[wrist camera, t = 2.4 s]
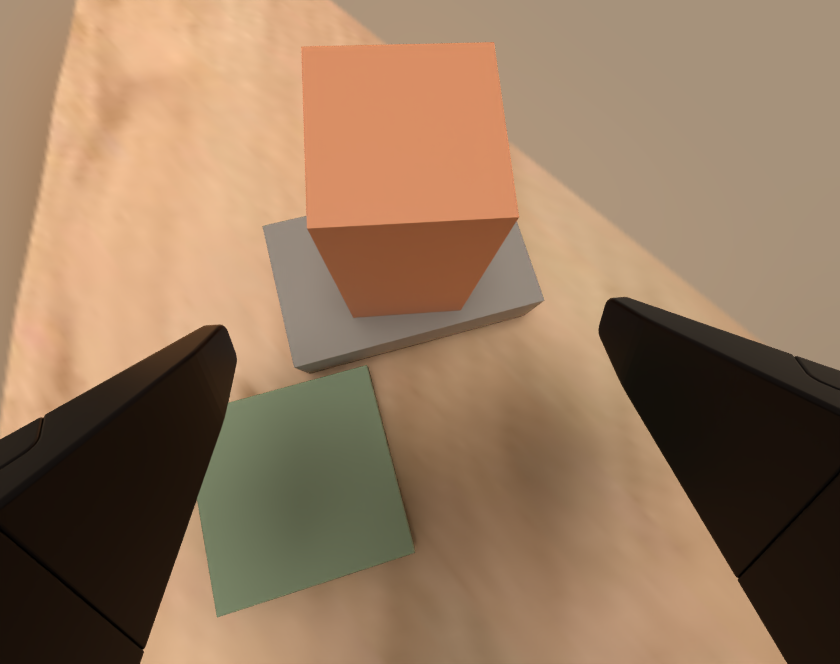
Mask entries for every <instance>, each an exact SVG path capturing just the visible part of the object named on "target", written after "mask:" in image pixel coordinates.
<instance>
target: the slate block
mask: <svg viewBox="0 0 840 664" xmlns="http://www.w3.org/2000/svg"><path fill="white" fill-rule="evenodd" d="M263 230H264V235H265V239H266V244H267V248H268V253H269V257H270V262H271V266H272V271H273V275H274V280H275V284H276V289H277V293H278V298H279V302H280V306H281V311H282V315H283V320H284V324H285V329H286V333H287V338H288V342H289V347H290V351H291V356H292V360H293V365H294V368H297V369H299V370H302V371H305V372H307V373H313V372H317V371H320V370H324V369H328V368H331V367H335V366H339V365H342V364H346V363H350V362H353V361H357V360H361V359H365V358H368V357H372V356H376V355H379V354H383V353H387V352H390V351H394V350H398V349H401V348H405V347H409V346H412V345H416V344H420V343H424V342H427V341H431V340H435V339H438V338H442V337H446V336H449V335H453V334H457V333H460V332H464V331H468V330H472V329H475V328H479V327H483V326H486V325H490V324H494V323H497V322H501V321H505V320H508V319H512V318H516V317H519V316H523V315H525V314H527V313H528V312H529V311H531V310H532V309H533V308H535V307H536V306H537V305H539V304H540V303H542V302H543V301H544V298H543V295H542V292H541V289H540V286H539V283H538V280H537V278H536V275H535V272H534V269H533V266H532V263H531V260H530V258H529V255H528V252H527V249H526V246H525V243H524V241H523V238H522V235H521V232H520V229H519V226H518V223H517V221H516V223H515V224H514V226H513V227H512V229H511V231H510V232H509V234H508V236H507V237H506V239H505V240H504V242H503V244H502V245H501V247H500V248H499V250H498V252H497V253H496V255H495V256H494V258H493V260H492V261H491V263H490V264H489V266H488V268H487V269H486V271H485V272H484V274H483V276H482V277H481V279H480V280H479V282H478V284H477V285H476V287H475V288H474V290H473V292H472V293H471V295H470V296H469V298H468V300H467V301H466V303H465V304H464V306H463V308H462V309H461V310H459V311H444V312H430V313H415V314H401V315H387V316H372V317H358V318H353V316H352V314H351V312H350V310H349V308H348V307H347V305H346V303H345V301H344V299H343V297H342V295H341V293H340V291H339V289H338V287H337V285H336V283H335V282H334V280H333V278H332V276H331V274H330V272H329V270H328V268H327V266H326V264H325V262H324V260H323V258H322V257H321V255H320V253H319V251H318V249H317V247H316V245H315V243H314V241H313V239H312V237H311V235H310V233H309V232H308V230H307V216H304V217H300V218H295V219H291V220H287V221H282V222H278V223H273V224H269V225H265V226H263Z"/></svg>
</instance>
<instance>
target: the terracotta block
mask: <svg viewBox="0 0 840 664" xmlns="http://www.w3.org/2000/svg"><path fill="white" fill-rule="evenodd" d="M301 48H302V81H303V114H304V147H305V180H306V214H307V230H308V232H309V233H310V235H311V237H312V239H313V241H314V243H315V245H316V247H317V249H318V251H319V253H320V255H321V257H322V258H323V260H324V262H325V264H326V266H327V268H328V270H329V272H330V274H331V276H332V278H333V280H334V282H335V283H336V285H337V287H338V289H339V291H340V293H341V295H342V297H343V299H344V301H345V303H346V305H347V307H348V308H349V310H350V312H351V314H352V316H353V318H358V317H372V316H387V315H401V314H415V313H430V312H444V311H459V310H461V309H462V308H463V306H464V304H465V303H466V301H467V300H468V298H469V296H470V295H471V293H472V292H473V290H474V288H475V287H476V285H477V284H478V282H479V280H480V279H481V277H482V276H483V274H484V272H485V271H486V269H487V268H488V266H489V264H490V263H491V261H492V260H493V258H494V256H495V255H496V253H497V252H498V250H499V248H500V247H501V245H502V244H503V242H504V240H505V239H506V237H507V236H508V234H509V232H510V231H511V229H512V227H513V226H514V224H515V223H516V221H517V219H518V218H519V214H518V207H517V200H516V193H515V186H514V179H513V172H512V165H511V158H510V151H509V144H508V137H507V130H506V124H505V116H504V109H503V102H502V96H501V88H500V81H499V74H498V67H497V60H496V54H495V47H494V42H485V43H444V44H443V43H442V44H402V45H401V44H397V45H354V46H310V47H301Z"/></svg>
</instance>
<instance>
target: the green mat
mask: <svg viewBox="0 0 840 664" xmlns="http://www.w3.org/2000/svg"><path fill="white" fill-rule="evenodd" d="M197 502H198V508H199V514H200V520H201V525H202V531H203V537H204V543H205V549H206V555H207V561H208V567H209V573H210V579H211V585H212V591H213V597H214V603H215V609H216V615H217V617H220V616H223V615H226V614H229V613H232V612H236V611H239V610H242V609H245V608H248V607H251V606H254V605H257V604H260V603H263V602H266V601H269V600H272V599H275V598H278V597H281V596H284V595H287V594H291V593H294V592H297V591H300V590H303V589H306V588H309V587H312V586H315V585H318V584H321V583H324V582H327V581H330V580H333V579H336V578H339V577H342V576H345V575H349V574H352V573H355V572H358V571H361V570H364V569H367V568H370V567H373V566H376V565H379V564H382V563H385V562H388V561H391V560H394V559H397V558H400V557H404V556H407V555H410V554H413V553H415V550H414V543H413V539H412V535H411V531H410V528H409V524H408V520H407V516H406V512H405V508H404V504H403V500H402V497H401V493H400V489H399V485H398V481H397V477H396V473H395V470H394V466H393V462H392V458H391V454H390V450H389V446H388V442H387V439H386V435H385V431H384V427H383V423H382V419H381V415H380V411H379V408H378V404H377V400H376V396H375V392H374V388H373V384H372V380H371V377H370V373H369V369H368V366H367V365H365V366H362V367H358V368H354V369H351V370H347V371H343V372H340V373H336V374H332V375H329V376H325V377H321V378H318V379H314V380H310V381H307V382H303V383H299V384H296V385H292V386H288V387H285V388H281V389H277V390H274V391H270V392H266V393H263V394H259V395H255V396H252V397H248V398H244V399H241V400H237V401H234V402H230V403H228V406H227V411H226V415H225V419H224V422H223V425H222V428H221V431H220V434H219V437H218V440H217V443H216V446H215V449H214V451H213V454H212V457H211V460H210V463H209V466H208V469H207V471H206V474H205V477H204V480H203V483H202V486H201V489H200V492H199V494H198V497H197Z"/></svg>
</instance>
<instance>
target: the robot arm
mask: <svg viewBox="0 0 840 664" xmlns="http://www.w3.org/2000/svg"><path fill="white" fill-rule="evenodd" d="M599 336H600V339H601V341H602V343H603V345H604V348H605V350H606V352H607V354H608V356H609V359H610V361H611V363H612V365H613V367H614V370H615V372H616V374H617V376H618V378H619V381H620V383H621V385H622V387H623V388H624V390H625V392H626V394H627V395H628V397H629V399H630V400H631V402H632V404H633V405H634V407H635V409H636V411H637V412H638V414H639V416H640V417H641V419H642V421H643V422H644V424H645V426H646V427H647V429H648V431H649V432H650V434H651V436H652V437H653V439H654V441H655V442H656V444H657V446H658V447H659V449H660V451H661V452H662V454H663V456H664V457H665V459H666V461H667V462H668V464H669V466H670V467H671V469H672V471H673V472H674V474H675V476H676V477H677V479H678V481H679V482H680V484H681V486H682V488H683V489H684V491H685V493H686V494H687V496H688V498H689V499H690V501H691V503H692V504H693V506H694V508H695V509H696V511H697V513H698V514H699V516H700V518H701V519H702V521H703V523H704V524H705V526H706V528H707V529H708V531H709V533H710V534H711V536H712V538H713V539H714V541H715V543H716V544H717V546H718V548H719V549H720V551H721V553H722V554H723V556H724V558H725V560H726V561H727V563H728V565H729V566H730V568H731V570H732V571H733V573H734V575H735V576H736V577H737V578H738V582H739V583H740V585H741V587H742V588H743V590H744V592H745V593H746V595H747V597H748V599H749V600H750V602H751V604H752V605H753V607H754V609H755V610H756V612H757V614H758V615H759V617H760V619H761V620H762V622H763V624H764V625H765V627H766V629H767V630H768V632H769V634H770V635H771V637H772V639H773V640H774V642H775V644H776V645H777V647H778V649H779V650H780V652H781V654H782V656H783V657H784V659H785V661H786V662H787V664H840V371H839V370H836V369H833V368H830V367H827V366H824V365H821V364H818V363H816V362H813V361H809V360H807V359H804V358H801V357H798V356H795V357H794V356H793V355H792V354H789V353H787V352H784V351H781V350H778V349H775V348H772V347H769V346H766V345H763V344H761V343H758V342H755V341H752V340H749V339H746V338H743V337H740V336H738V335H735V334H732V333H729V332H726V331H723V330H720V329H717V328H714V327H712V326H709V325H706V324H703V323H700V322H697V321H694V320H691V319H689V318H686V317H683V316H680V315H677V314H674V313H671V312H668V311H665V310H663V309H660V308H657V307H654V306H651V305H648V304H645V303H642V302H640V301H637V300H634V299H631V298H628V297H618V298H610V299H609V300H607V302H606V304H605V307H604V311H603V314H602V317H601V321H600V324H599ZM236 363H237V357H236V353H235V350H234V347H233V344H232V342H231V339H230V336H229V333H228V331H227V329H226V328H225V326H223V325H206V326H203V327H201V328H199V329H197V330H195V331H194V332H192V333H190V334H188V335H187V336H185V337H183V338H181V339H179V340H178V341H176V342H174V343H172V344H170V345H169V346H167V347H165V348H163V349H162V350H160V351H158V352H156V353H154V354H153V355H151V356H149V357H147V358H145V359H144V360H142V361H140V362H138V363H137V364H135V365H133V366H131V367H129V368H128V369H126V370H124V371H122V372H120V373H119V374H117V375H115V376H113V377H112V378H110V379H108V380H106V381H104V382H103V383H101V384H99V385H97V386H95V387H94V388H92V389H90V390H88V391H87V392H85V393H83V394H81V395H79V396H78V397H76V398H74V399H72V400H70V401H69V402H67V403H65V404H63V405H62V406H60V407H58V408H56V409H54V410H53V411H51V412H49V413H47V414H46V415H45V416H44V418H42V417H41V418H38V419H36V420H35V421H33V422H31V423H29V424H27V425H26V426H24V427H22V428H20V429H18V430H17V431H15V432H13V433H11V434H9V435H7V436H6V437H4V438H2V439H0V664H140V662H141V659H142V656H143V653H144V651H143V649H144V648H145V647H146V644H147V641H148V638H149V635H150V632H151V629H152V626H153V624H154V621H155V618H156V615H157V612H158V609H159V606H160V603H161V601H162V598H163V595H164V592H165V589H166V586H167V583H168V581H169V578H170V575H171V572H172V569H173V566H174V563H175V560H176V558H177V555H178V552H179V549H180V546H181V543H182V540H183V537H184V535H185V532H186V529H187V526H188V523H189V520H190V517H191V515H192V512H193V509H194V506H195V503H196V500H197V497H198V494H199V492H200V489H201V486H202V483H203V480H204V477H205V474H206V471H207V469H208V466H209V463H210V460H211V457H212V454H213V451H214V449H215V446H216V443H217V440H218V437H219V434H220V431H221V428H222V425H223V422H224V419H225V415H226V411H227V406H228V401H229V397H230V392H231V387H232V383H233V378H234V373H235V368H236Z"/></svg>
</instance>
